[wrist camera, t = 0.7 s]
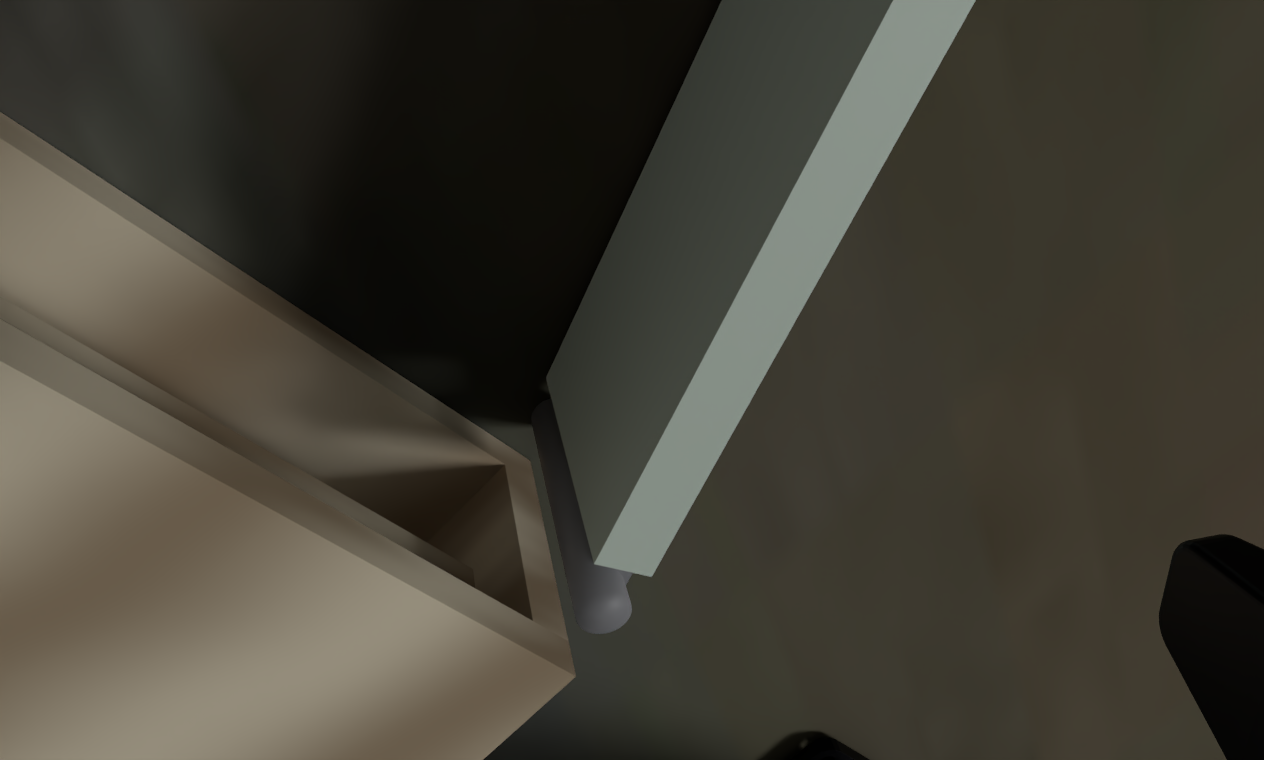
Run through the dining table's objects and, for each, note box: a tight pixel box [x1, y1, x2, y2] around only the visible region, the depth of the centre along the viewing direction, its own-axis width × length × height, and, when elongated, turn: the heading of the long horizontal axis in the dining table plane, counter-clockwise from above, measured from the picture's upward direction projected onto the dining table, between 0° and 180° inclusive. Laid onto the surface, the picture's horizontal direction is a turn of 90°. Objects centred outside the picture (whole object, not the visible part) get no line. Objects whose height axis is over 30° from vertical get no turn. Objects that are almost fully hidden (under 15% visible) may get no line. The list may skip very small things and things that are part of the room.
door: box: [531, 0, 975, 634], centre depth 17 cm, size 15×1×6 cm, turn 155°
